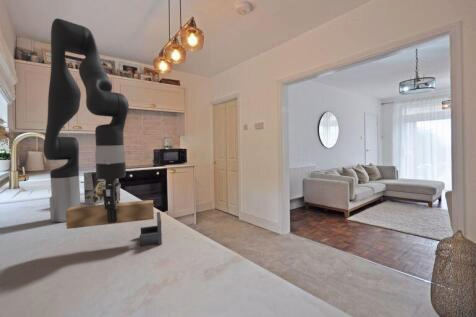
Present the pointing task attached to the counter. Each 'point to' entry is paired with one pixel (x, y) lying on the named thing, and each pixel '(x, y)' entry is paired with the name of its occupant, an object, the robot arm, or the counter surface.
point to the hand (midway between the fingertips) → (113, 219)
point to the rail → (98, 214)
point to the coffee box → (93, 188)
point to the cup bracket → (151, 233)
